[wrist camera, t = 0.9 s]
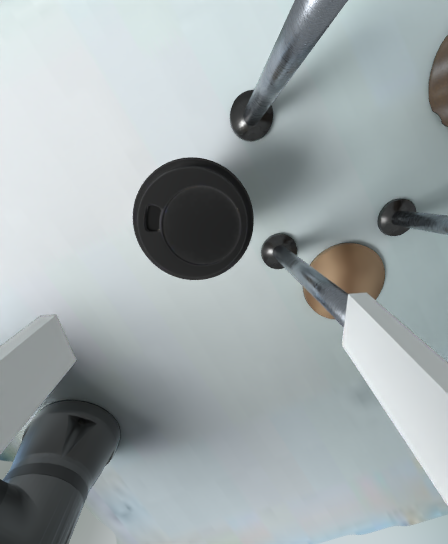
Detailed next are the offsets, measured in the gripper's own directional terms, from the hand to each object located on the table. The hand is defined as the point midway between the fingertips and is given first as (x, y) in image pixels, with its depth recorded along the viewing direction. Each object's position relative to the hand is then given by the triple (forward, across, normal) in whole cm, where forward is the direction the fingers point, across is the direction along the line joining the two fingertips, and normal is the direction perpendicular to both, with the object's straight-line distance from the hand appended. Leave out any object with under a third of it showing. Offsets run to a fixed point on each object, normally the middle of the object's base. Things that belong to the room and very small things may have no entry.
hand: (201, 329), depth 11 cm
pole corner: (+23, -8, +4) cm, 25 cm away
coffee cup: (+23, +2, -2) cm, 23 cm away
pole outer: (+24, -5, -12) cm, 27 cm away
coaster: (+24, -18, +10) cm, 31 cm away
